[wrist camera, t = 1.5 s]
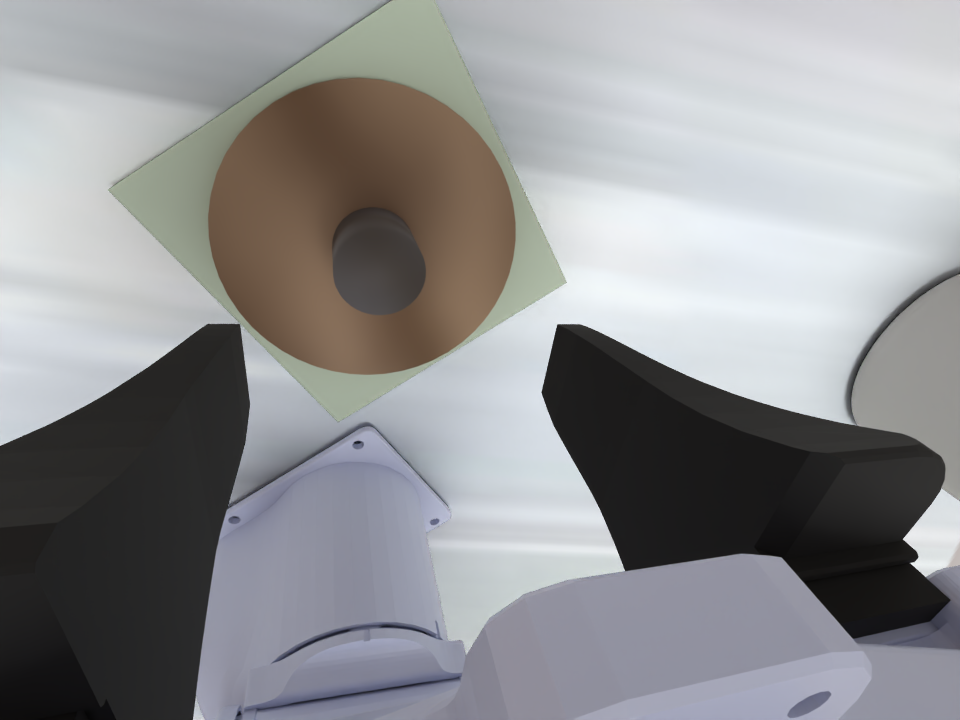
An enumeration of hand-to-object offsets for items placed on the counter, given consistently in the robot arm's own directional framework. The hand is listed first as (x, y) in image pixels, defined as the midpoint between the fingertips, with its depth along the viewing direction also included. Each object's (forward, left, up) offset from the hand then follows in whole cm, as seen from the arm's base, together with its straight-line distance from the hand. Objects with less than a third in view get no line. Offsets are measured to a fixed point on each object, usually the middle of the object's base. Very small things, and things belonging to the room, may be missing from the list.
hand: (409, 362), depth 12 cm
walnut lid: (0, 0, -9) cm, 9 cm away
